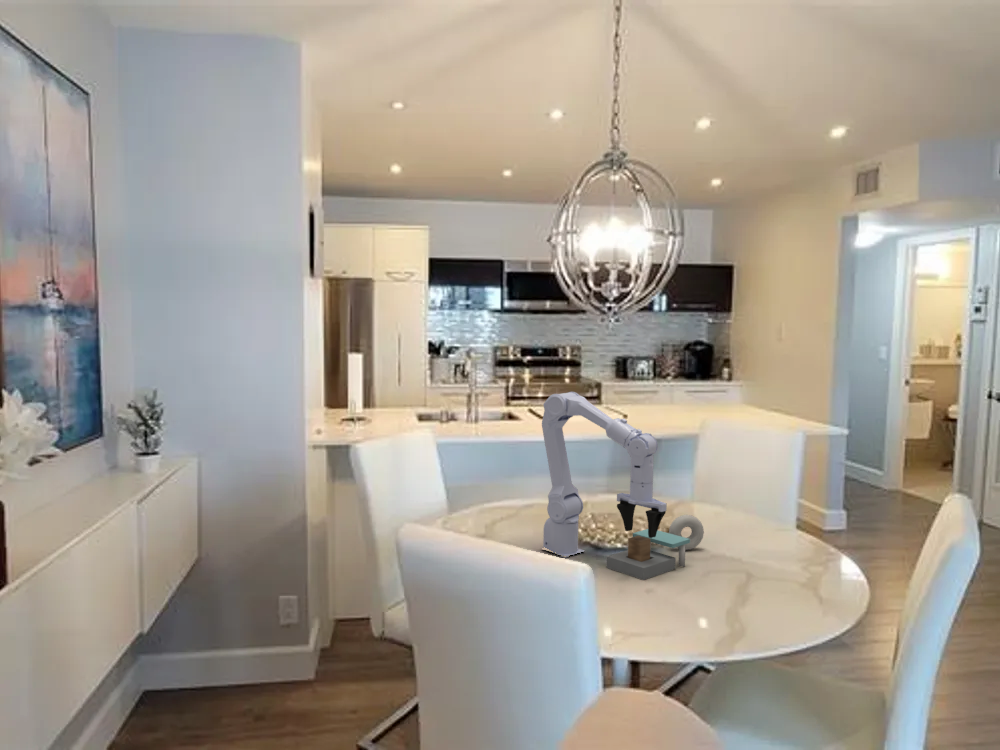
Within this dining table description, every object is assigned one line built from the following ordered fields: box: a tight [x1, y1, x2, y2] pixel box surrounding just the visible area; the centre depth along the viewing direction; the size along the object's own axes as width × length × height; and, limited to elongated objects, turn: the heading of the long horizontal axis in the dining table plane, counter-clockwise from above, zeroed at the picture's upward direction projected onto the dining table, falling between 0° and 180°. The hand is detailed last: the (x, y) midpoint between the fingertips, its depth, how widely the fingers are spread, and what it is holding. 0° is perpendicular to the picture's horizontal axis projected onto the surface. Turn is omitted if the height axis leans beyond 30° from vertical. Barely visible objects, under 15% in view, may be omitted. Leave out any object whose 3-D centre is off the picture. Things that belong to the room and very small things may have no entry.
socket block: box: [605, 549, 676, 581], centre depth 193 cm, size 12×13×3 cm
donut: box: [668, 514, 705, 551], centre depth 209 cm, size 10×3×10 cm, turn 97°
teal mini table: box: [632, 528, 690, 568], centre depth 198 cm, size 13×8×7 cm, turn 41°
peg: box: [627, 536, 651, 562], centre depth 192 cm, size 4×4×8 cm
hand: (640, 533), depth 192 cm, fingers open, 7 cm apart
